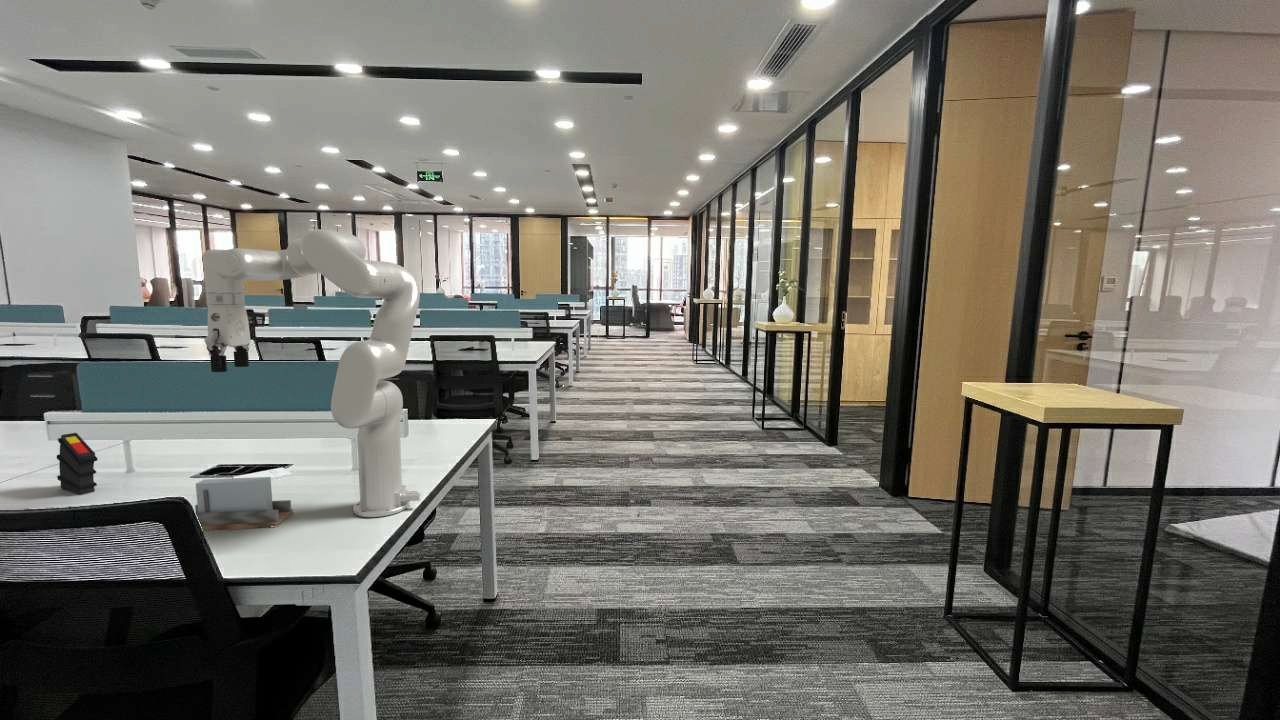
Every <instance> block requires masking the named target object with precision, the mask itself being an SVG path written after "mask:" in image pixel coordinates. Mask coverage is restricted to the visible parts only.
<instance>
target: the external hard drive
mask: <svg viewBox="0 0 1280 720" xmlns="http://www.w3.org/2000/svg"><path fill="white" fill-rule="evenodd" d="M292 474H293V473H292V472H291V471H289V470H288V469H286V468H284V467H282V466H281V467H277V468H273V469H272V468H271V469H267V470H261V471H256V472H252V473H245V474H241V475H235V476H232V477H231V478H255V477H271V481H274V479H275V480H279V479H278V478H280V479H283V477H285V478H288V476H289V477H292V476H293V475H292Z"/></svg>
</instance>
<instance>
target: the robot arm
mask: <svg viewBox="0 0 1280 720" xmlns="http://www.w3.org/2000/svg"><path fill="white" fill-rule="evenodd" d="M364 244H365V243H363V241H362V240H361V239H359V237H357V236H355V235H354V234H351V233H348V232H343V231H338V230H337V231H336V230H332V229H325V228H324V229H323V228H321V229H319V228H318V229H317V228H316V229H314V230H312V231H309V232H308V233H307V234H305V236H303V238H296V239H293V240H292V241H290V242H289V244H288V246H287V248H286V249H280V250H265V249H256V248H255V249H254V248H241V247H236V248H230V249H207V250H205V251H204V252H203V256H202V259H203V269H204V270H203V271H204V282H205V294H206V296H205V297H206V306H207V309H208V310H207V335H206V337H204V342H205V345H206V350H207V351H208V356H209V358H210V369H211V372H212V373H227V372H228V363H227V355H225V352H226V350H227V347H229V348H233V349H234V350H235V351H234V350H233V361H234V362H233V364H234V367H235V368H248V367H249V366H250V360H249V359H250V358H249V349H250V347H249V345H250V343H251V332H250V331H251V330H250V326H249V325H250V324H249V323H250V322H249V318H248V313H247V310H246V309H247V308H246V303H245V301H246V300H245V291H244V289H245V287H244V281H268V282H274V281H275V282H276V281H284V280H285V281H286V280H292V279H298V278H303V277H306V276H308V275H309V276H310V275H317V274H320V275H321V276H323V277H324V278H325V279H327V280H328V281H330V282H331V283H332V284H333V285H335V286H336V287H338V288H339V289H340V290H341V291H343V292H344V293H346V294H347V295H349V296H351V297H354V298H356V299H357V298H359V299H383V302H382V304H381V306H380V307H379V309H378V311H377V312H376V315H375V318H374V319H373V325H372V330H371V333H370V337H369V338H368V339H366V340H365V339H364V340H360V341H359V340H358V341H355V342H353V343H351V344H350V345H349V346H347V347H346V348H345V350H344V351H343V352H342V353H341V356H340V358H339V361H338V366H337V371H336V376H335V380H334V385H333V390H332V395H331V401H330V413H331V415H332V418H333V419H334V421H335V422H336V424H337V425H339V426H341V427H342V428H345V429H352V430H354V429H358V431H357V438H356V442H357V443H356V447H357V464H358V465H357V467H358V484H359V485H358V487H359V488H358V489H359V501H357V502H356V503H355V504H354V505H353V507H352V511H353V513H354V514H355V515H356V516H358V517H363V518H380V517H386V516H390V515H395V514H398V513H400V512H403V511H404V510H406V509H407V508H408V507H409V506H410V502H420V501H421V493H420V492H419V491H418V490H411V491H409V490H408V489H407V485H403V474H402V450H401V444H402V443H401V420H402V413H403V407H404V400H403V393H402V391H401V389H400V388H399V387H398V386H397V385H396V384H395V383H393V382H392V381H389V380H385V379H388V378H392V377H395V376H397V375H399V374H400V373H402V371H403V370H404V368H405V367H406V366H405V365H406V362H407V357H408V352H409V348H410V343H411V339H412V335H413V329H414V323H415V321H416V316H417V313H418V310H419V306H420V300H421V293H420V292H421V291H420V288H419V284H418V281H417V280H416V279H415V277H414V275H413V274H412V273H411V272H410V271H409V270H408V269H407V268H405V267H403V266H402V265H399V264H397V263H394V262H389V261H383V260H382V261H381V260H368V259H365V258H366V255H367V252H366V251H367V250H366V247H365V245H364Z"/></svg>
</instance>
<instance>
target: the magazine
mask: <svg viewBox="0 0 1280 720" xmlns="http://www.w3.org/2000/svg"><path fill="white" fill-rule="evenodd" d="M57 442H58V443H59V454H56V459H57V460H58V461H59V463H58V464H59V467H58V468H59V475H57V476H56V478H57V481H59V482H60V488H61V489H62V490H65V491H67V492H71V493H74V494H76V495H84V494H89V493H93V492H95V487H97V486H98V484H97V483H96V482H95V481H94V477H95V475H94V474H97V470H95V468H94V467H95V465H94V464H95V462H97V461H98V457H97V455H96V453H95V452H94V450H93V449H92V448H91V447H90V446H89V445H88V444H87V442H86V441H85V440H84V439H83V438H82V436H81V435H79V434H78V433H77V432H73V433H72V432H70V433H66V434H61V435H60V437H59V438H57Z"/></svg>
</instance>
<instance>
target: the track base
mask: <svg viewBox="0 0 1280 720" xmlns="http://www.w3.org/2000/svg"><path fill="white" fill-rule="evenodd" d="M272 504H273V510H259V511H236V512H212V513H198V505H197V504H195V505H194V507H195V513H196V515H197V517H198V520H199V522H200V524H201V527H202V529H203V531H220V530H219V529H225V530H243V529H244V530H245V528H247V529H259V528H258V527H268V528H272V527H271V526H274V527H273V528H276V527H275V526H277V525H278V526H279V525H281V524H282V523H283V522H284V521H285V520H287V519H288V518H289V517H291V516H292V515H293V514H292V513H294V512H293V509H292V500H291V499H285V500H284V499H283V500H272ZM287 517H288V518H287ZM282 521H283V522H282ZM281 522H282V523H281ZM278 526H277V527H278ZM210 529H211V530H210Z"/></svg>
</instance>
